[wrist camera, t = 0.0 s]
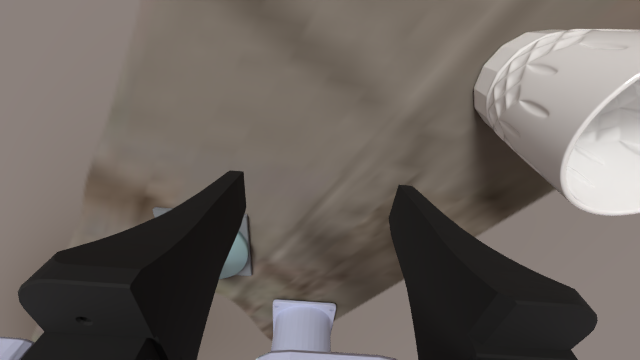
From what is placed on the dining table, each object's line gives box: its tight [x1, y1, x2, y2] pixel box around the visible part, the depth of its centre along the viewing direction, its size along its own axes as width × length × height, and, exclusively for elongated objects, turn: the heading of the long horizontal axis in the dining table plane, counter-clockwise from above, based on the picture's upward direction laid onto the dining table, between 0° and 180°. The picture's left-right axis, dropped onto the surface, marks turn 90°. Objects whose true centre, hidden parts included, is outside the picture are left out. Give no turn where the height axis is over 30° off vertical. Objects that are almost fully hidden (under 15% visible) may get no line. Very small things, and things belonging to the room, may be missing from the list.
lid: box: [219, 231, 249, 279], centre depth 26 cm, size 9×9×5 cm
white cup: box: [474, 29, 640, 216], centre depth 15 cm, size 8×8×10 cm
